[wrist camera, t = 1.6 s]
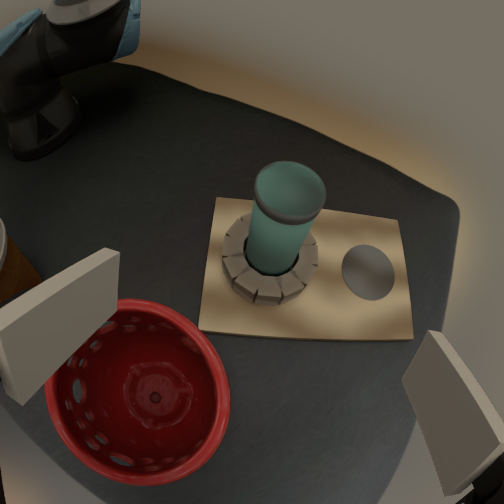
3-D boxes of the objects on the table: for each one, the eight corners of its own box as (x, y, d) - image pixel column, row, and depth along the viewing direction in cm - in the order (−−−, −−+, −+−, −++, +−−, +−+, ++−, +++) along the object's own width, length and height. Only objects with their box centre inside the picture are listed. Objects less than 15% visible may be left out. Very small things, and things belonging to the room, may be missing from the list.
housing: (216, 202, 37) (216, 181, 33) (394, 224, 38) (407, 208, 35) (198, 331, 30) (195, 322, 26) (408, 340, 31) (428, 332, 27)
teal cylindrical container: (245, 239, 34) (257, 157, 22) (291, 243, 34) (323, 166, 23) (241, 282, 32) (252, 212, 20) (290, 287, 32) (328, 221, 20)
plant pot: (177, 478, 23) (151, 523, 12) (80, 395, 25) (14, 387, 15) (254, 384, 28) (273, 379, 17) (153, 307, 31) (119, 258, 20)
